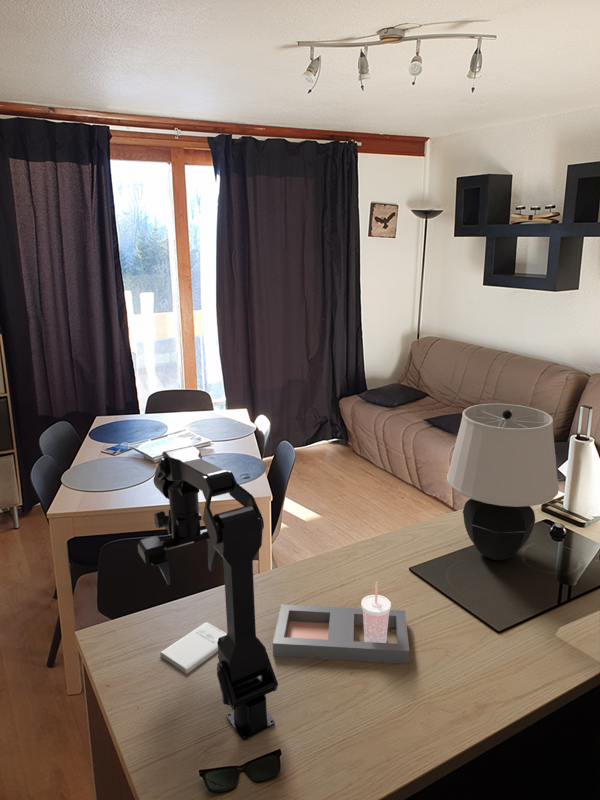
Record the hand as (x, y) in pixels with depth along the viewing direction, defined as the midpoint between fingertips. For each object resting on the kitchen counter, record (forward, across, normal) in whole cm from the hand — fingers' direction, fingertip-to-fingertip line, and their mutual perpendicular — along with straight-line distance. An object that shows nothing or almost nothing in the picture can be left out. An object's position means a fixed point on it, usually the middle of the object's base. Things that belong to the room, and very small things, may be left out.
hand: (189, 577), depth 122 cm
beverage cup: (+15, -32, +21) cm, 41 cm away
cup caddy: (+14, -26, +17) cm, 34 cm away
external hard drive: (+15, +1, +4) cm, 16 cm away
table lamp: (+15, -80, +11) cm, 82 cm away
